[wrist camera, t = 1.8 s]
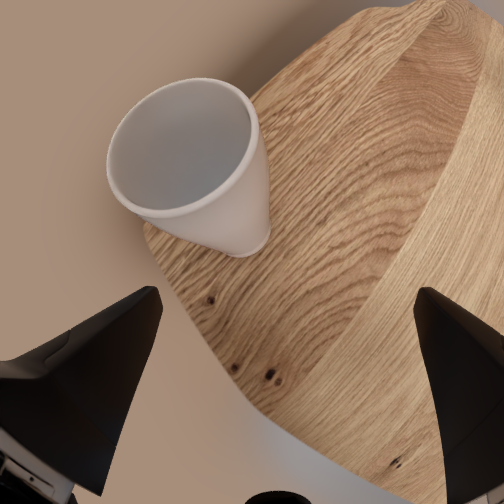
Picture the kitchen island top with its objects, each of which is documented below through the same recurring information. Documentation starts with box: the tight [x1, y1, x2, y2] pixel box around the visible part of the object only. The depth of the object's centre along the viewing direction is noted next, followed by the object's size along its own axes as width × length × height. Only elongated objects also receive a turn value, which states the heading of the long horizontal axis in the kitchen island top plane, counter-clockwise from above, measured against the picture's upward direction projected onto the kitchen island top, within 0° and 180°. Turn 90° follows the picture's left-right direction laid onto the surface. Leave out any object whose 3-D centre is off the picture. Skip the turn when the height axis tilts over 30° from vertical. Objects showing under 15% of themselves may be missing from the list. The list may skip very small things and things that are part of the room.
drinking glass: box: [106, 78, 271, 258], centre depth 17 cm, size 7×7×15 cm
